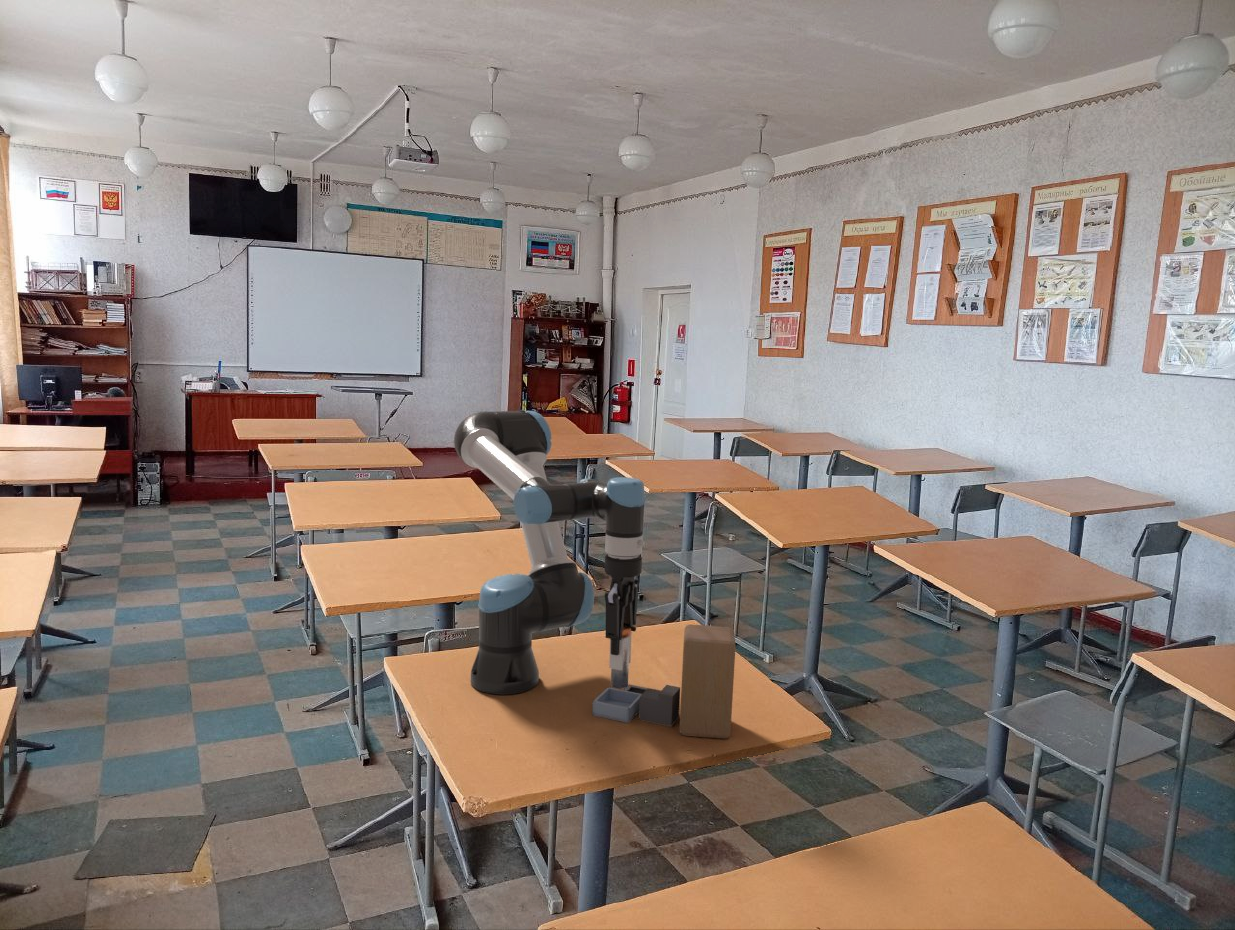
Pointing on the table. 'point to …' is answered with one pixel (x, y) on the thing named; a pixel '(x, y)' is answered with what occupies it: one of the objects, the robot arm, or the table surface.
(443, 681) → the table surface
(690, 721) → the block
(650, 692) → the dark grey stepped piece
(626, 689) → the socket
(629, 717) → the tray
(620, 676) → the pin
